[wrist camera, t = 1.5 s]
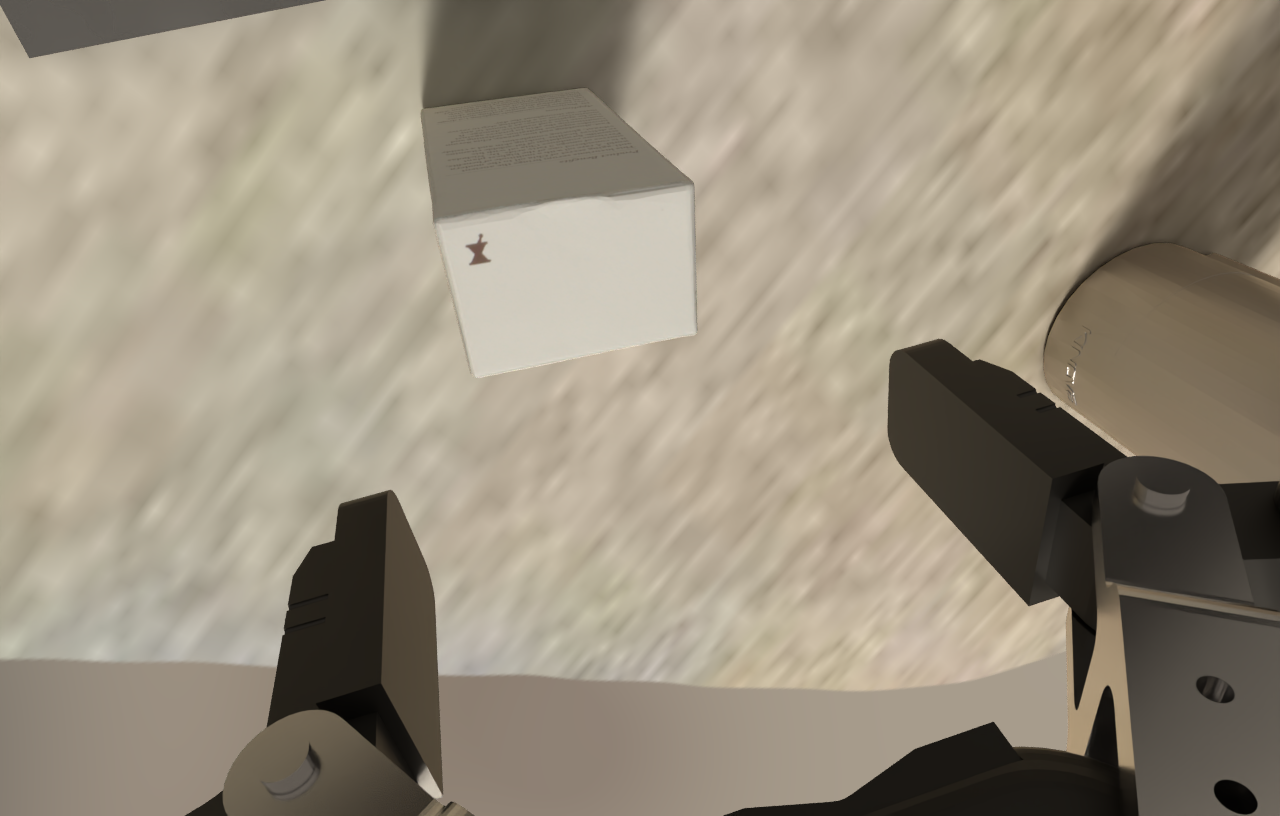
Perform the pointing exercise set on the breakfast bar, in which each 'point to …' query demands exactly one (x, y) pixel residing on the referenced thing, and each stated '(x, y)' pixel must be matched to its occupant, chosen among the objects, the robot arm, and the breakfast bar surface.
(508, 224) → the skincare box
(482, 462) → the breakfast bar surface
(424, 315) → the breakfast bar surface
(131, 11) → the picture frame
